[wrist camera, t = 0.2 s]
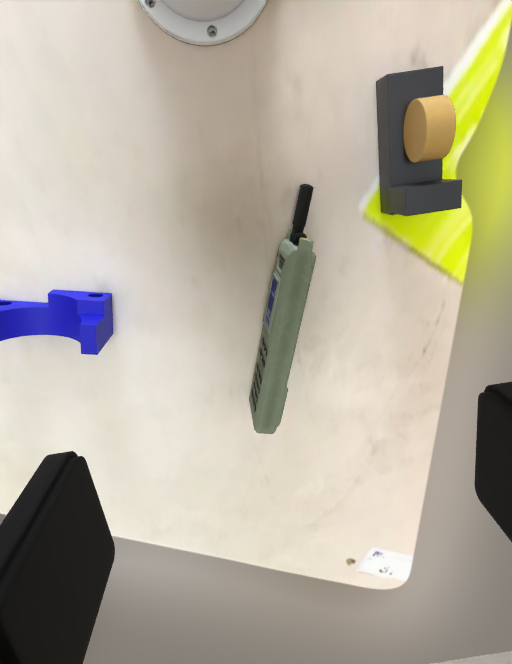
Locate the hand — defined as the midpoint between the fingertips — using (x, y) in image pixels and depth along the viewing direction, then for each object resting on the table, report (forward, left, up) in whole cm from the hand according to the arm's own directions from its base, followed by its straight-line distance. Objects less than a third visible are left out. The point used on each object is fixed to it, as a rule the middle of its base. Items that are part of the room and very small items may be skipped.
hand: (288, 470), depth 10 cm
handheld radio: (+7, +3, -37) cm, 38 cm away
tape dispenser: (-7, +17, -37) cm, 41 cm away
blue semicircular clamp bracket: (+4, -21, -37) cm, 43 cm away
